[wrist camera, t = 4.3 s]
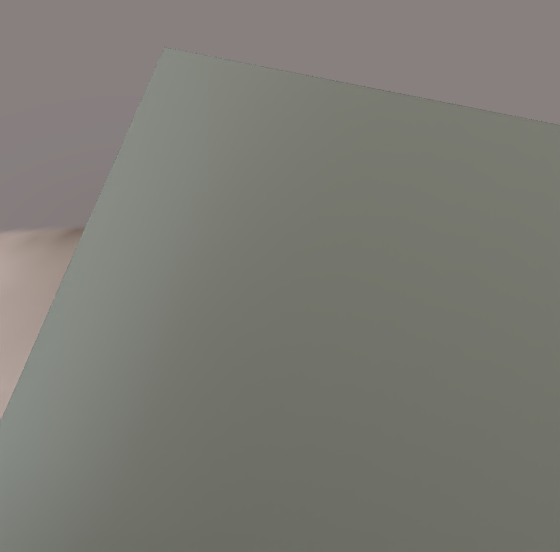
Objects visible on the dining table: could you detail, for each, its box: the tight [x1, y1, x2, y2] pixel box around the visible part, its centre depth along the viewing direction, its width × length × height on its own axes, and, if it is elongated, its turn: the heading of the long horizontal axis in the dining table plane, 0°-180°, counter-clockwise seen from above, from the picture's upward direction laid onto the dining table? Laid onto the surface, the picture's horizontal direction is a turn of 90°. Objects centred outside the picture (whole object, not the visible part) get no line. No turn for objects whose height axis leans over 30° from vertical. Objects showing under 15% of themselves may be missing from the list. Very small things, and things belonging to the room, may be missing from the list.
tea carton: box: [0, 47, 560, 552], centre depth 8 cm, size 7×4×12 cm, turn 168°
